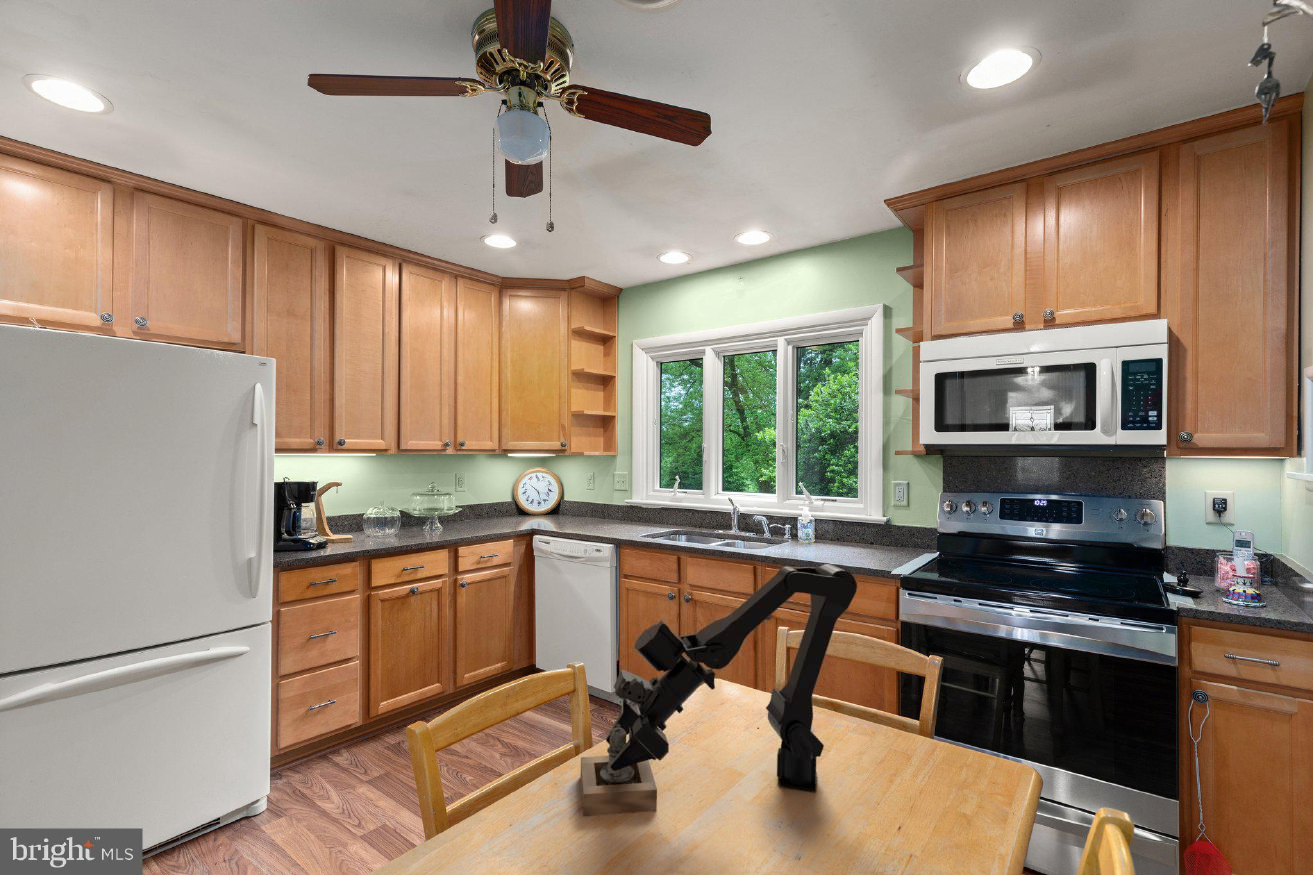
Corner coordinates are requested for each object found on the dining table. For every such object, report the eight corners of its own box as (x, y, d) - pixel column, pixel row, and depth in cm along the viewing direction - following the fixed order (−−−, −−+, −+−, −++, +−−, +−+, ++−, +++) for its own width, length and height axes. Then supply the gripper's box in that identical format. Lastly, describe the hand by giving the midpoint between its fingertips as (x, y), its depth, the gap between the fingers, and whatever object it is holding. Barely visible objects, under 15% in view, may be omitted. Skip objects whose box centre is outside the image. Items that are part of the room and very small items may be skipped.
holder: (646, 772, 115) (646, 753, 115) (656, 810, 103) (657, 789, 104) (580, 776, 113) (580, 757, 113) (583, 815, 102) (583, 794, 102)
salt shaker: (632, 803, 105) (634, 731, 106) (597, 802, 106) (599, 730, 106) (634, 784, 111) (636, 716, 111) (601, 783, 111) (603, 715, 112)
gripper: (635, 639, 118) (575, 700, 117) (650, 676, 100) (578, 750, 98) (676, 680, 120) (616, 741, 118) (697, 723, 101) (627, 797, 99)
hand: (609, 754), depth 108 cm, fingers open, 9 cm apart
